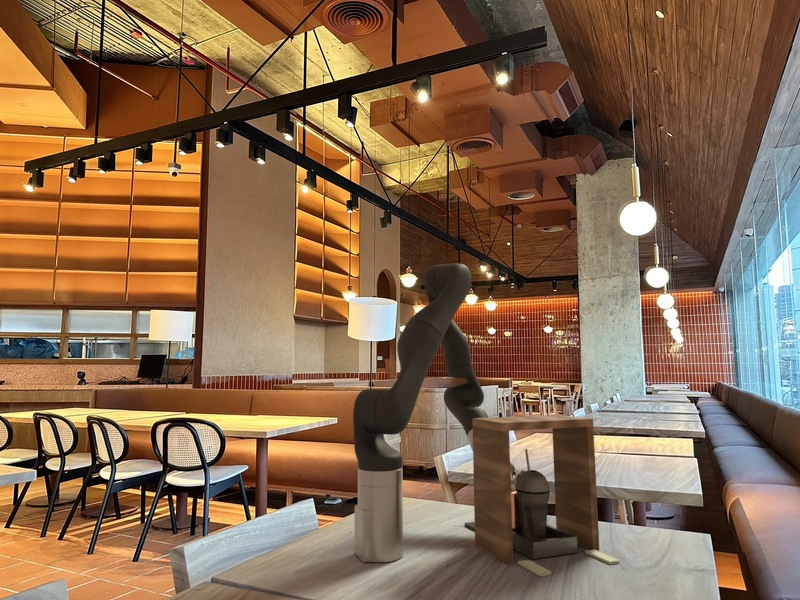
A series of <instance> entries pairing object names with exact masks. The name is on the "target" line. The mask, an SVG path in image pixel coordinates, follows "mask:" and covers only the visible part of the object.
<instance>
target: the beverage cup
mask: <svg viewBox="0 0 800 600" xmlns="http://www.w3.org/2000/svg"><path fill="white" fill-rule="evenodd" d="M524 451H525V459H526V466H527V469H526V470H524V471H525V472H523V473H522V474H521V475H520V476H519V478H518V480H517V483H516V482H515V484H516V489H515V490H516V493H517V499H518V503H519V513H520V522H521V532H522V536H524V537H526V538H528V539H530V540H532V541H540V540H546V525H548V524H547V522H548V506H549V505H548V503H549V500H550V492H551V489H550V485H549V482H548V480H547V478H546V476H545V475H544V474H543V473H541V472H540V471H538V470H534V469H531V466H530V458H529V453H528V451H529V450H528V449H527V448H526V449H524Z"/></svg>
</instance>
